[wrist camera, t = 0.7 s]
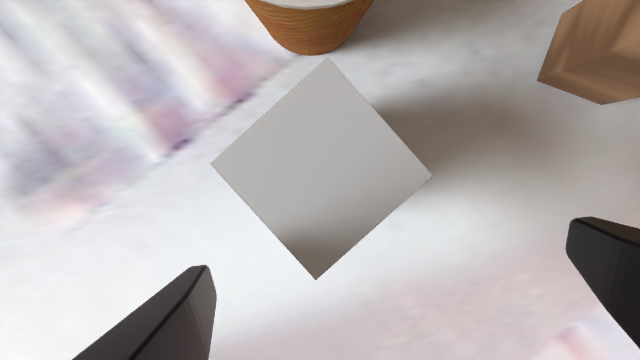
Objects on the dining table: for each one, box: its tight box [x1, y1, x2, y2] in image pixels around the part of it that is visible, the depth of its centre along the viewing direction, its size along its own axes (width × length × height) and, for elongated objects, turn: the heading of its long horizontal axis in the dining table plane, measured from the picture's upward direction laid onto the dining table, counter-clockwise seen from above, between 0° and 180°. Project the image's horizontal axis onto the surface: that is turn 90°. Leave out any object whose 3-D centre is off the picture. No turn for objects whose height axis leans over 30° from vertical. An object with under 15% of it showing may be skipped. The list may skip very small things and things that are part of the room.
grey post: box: [210, 57, 433, 280], centre depth 17 cm, size 4×4×13 cm
